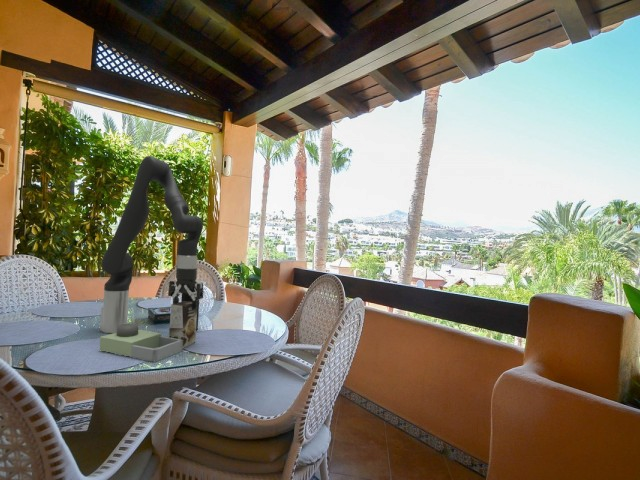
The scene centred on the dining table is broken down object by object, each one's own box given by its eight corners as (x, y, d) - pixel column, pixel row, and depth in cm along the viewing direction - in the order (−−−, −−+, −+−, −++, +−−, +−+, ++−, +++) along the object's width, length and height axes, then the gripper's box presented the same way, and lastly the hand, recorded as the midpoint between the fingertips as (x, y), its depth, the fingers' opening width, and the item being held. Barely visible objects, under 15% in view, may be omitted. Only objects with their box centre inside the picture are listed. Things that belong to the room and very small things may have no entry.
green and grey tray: (99, 351, 132) (100, 328, 132) (131, 341, 145) (132, 320, 145) (154, 362, 124) (155, 338, 124) (182, 350, 137) (183, 329, 137)
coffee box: (183, 348, 139) (185, 305, 139) (167, 346, 141) (170, 304, 141) (196, 342, 148) (198, 301, 148) (181, 340, 150) (183, 300, 150)
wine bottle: (180, 333, 160) (184, 263, 160) (178, 328, 167) (182, 261, 166) (199, 332, 164) (203, 263, 163) (196, 327, 170) (199, 261, 170)
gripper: (208, 267, 146) (206, 309, 146) (178, 265, 150) (176, 305, 150) (196, 268, 139) (194, 312, 139) (164, 266, 143) (163, 308, 143)
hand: (185, 308), depth 145 cm, fingers open, 8 cm apart
